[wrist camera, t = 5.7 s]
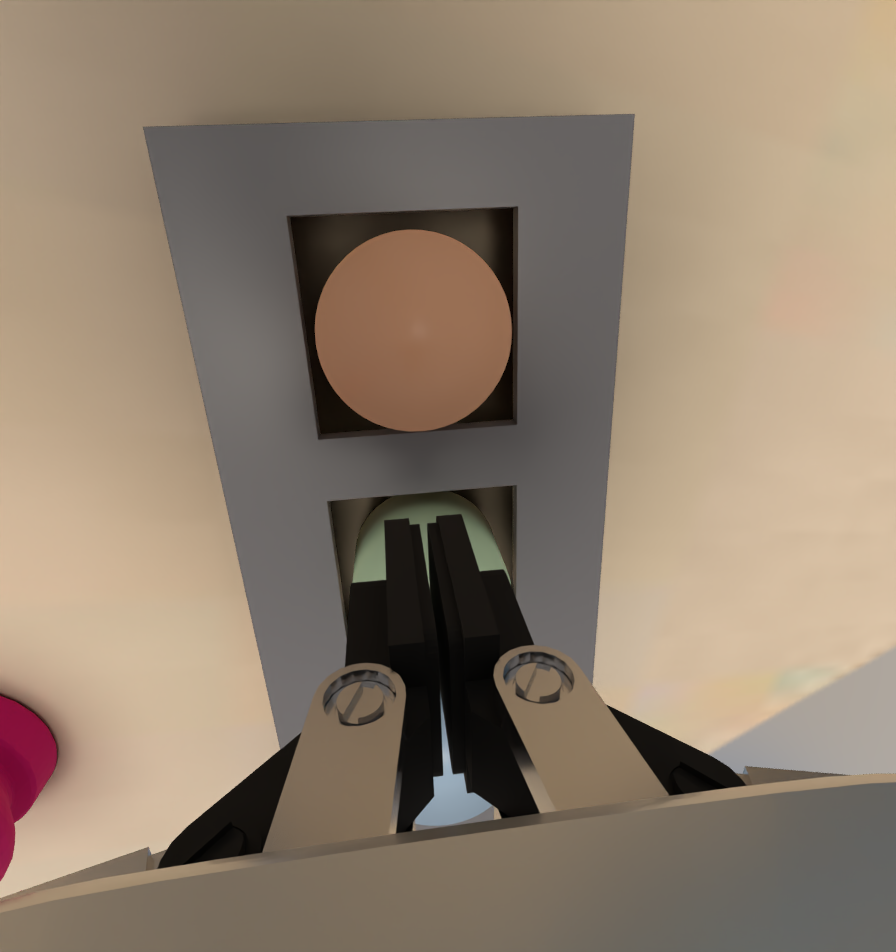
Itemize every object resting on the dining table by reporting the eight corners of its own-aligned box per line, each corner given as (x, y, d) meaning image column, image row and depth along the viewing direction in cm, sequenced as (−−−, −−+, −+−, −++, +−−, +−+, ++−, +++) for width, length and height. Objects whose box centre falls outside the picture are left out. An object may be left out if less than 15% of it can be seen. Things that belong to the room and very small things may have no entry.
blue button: (371, 675, 22) (369, 737, 19) (494, 661, 22) (510, 719, 19) (382, 766, 24) (382, 833, 21) (495, 751, 24) (510, 816, 21)
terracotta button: (315, 238, 15) (301, 234, 13) (489, 230, 16) (512, 224, 13) (337, 409, 17) (328, 438, 14) (491, 398, 18) (511, 424, 15)
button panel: (185, 150, 15) (142, 126, 13) (592, 137, 17) (634, 113, 14) (312, 789, 25) (303, 854, 23) (561, 756, 26) (582, 815, 24)
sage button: (347, 494, 18) (341, 537, 16) (492, 482, 19) (511, 521, 16) (362, 616, 20) (359, 672, 18) (494, 602, 21) (511, 655, 18)
